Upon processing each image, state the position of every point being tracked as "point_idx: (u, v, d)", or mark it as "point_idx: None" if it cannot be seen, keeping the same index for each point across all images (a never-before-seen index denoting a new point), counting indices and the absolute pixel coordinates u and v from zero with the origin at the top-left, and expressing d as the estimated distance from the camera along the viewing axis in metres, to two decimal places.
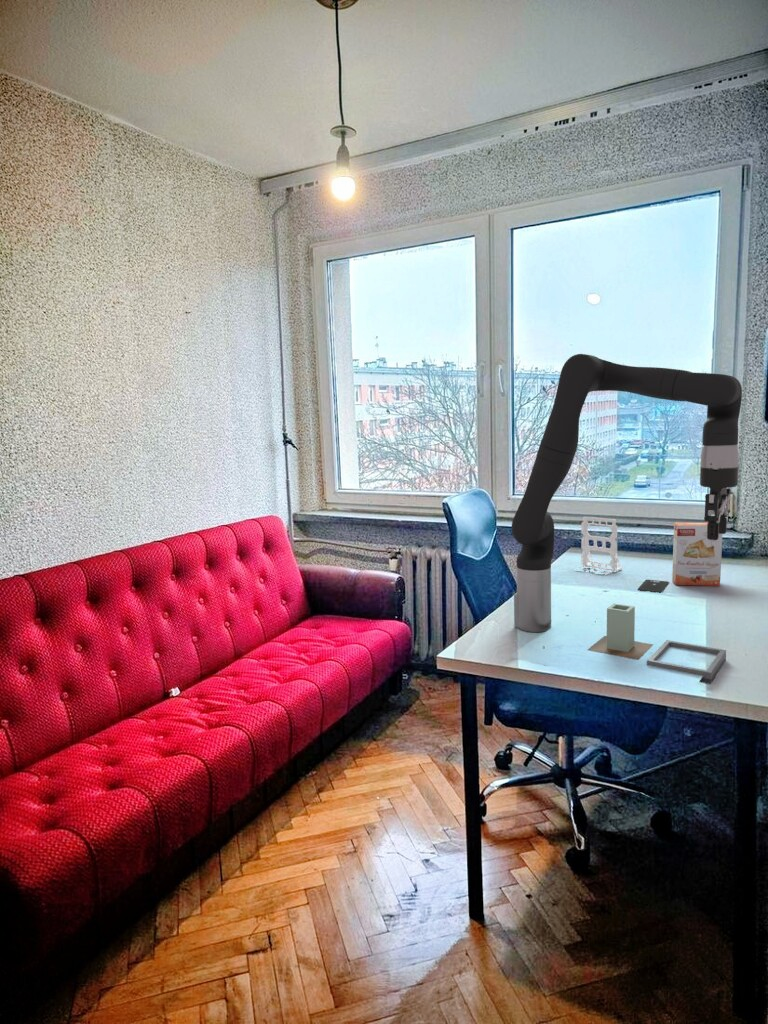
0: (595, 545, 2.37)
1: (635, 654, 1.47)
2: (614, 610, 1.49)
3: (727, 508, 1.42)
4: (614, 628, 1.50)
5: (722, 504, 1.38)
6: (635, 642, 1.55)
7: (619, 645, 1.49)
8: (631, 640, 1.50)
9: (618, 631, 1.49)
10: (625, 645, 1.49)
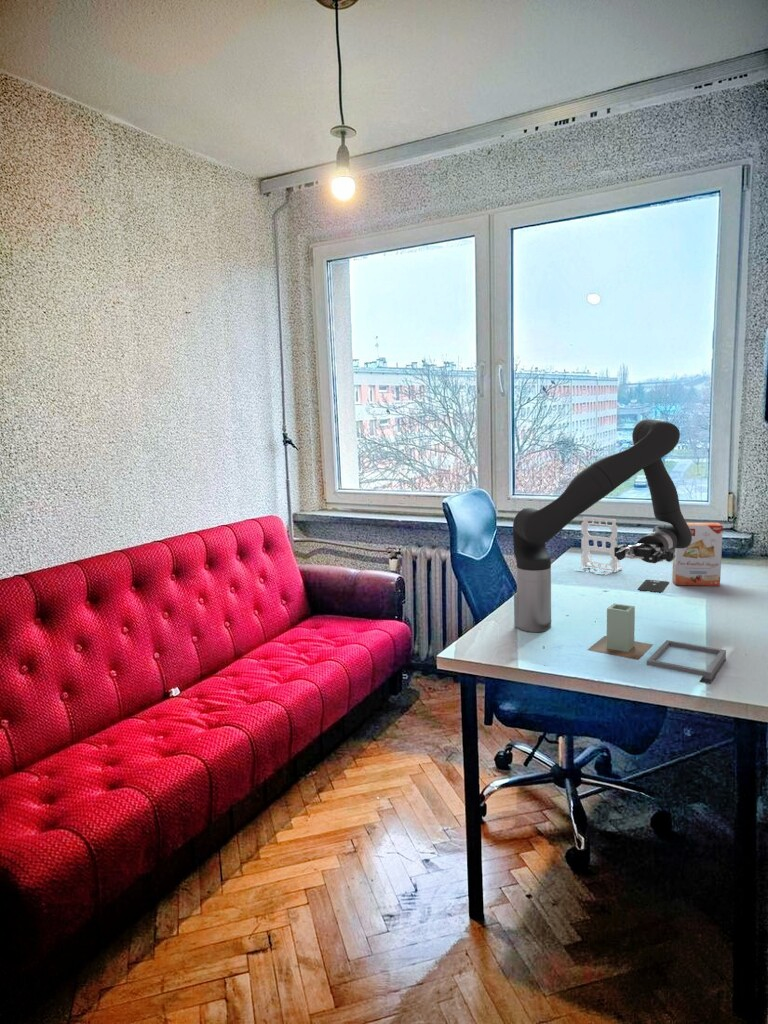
0: (595, 545, 2.37)
1: (635, 654, 1.47)
2: (614, 610, 1.49)
3: (633, 557, 1.64)
4: (614, 628, 1.50)
5: None
6: (635, 642, 1.55)
7: (619, 645, 1.49)
8: (631, 640, 1.50)
9: (618, 631, 1.49)
10: (625, 645, 1.49)
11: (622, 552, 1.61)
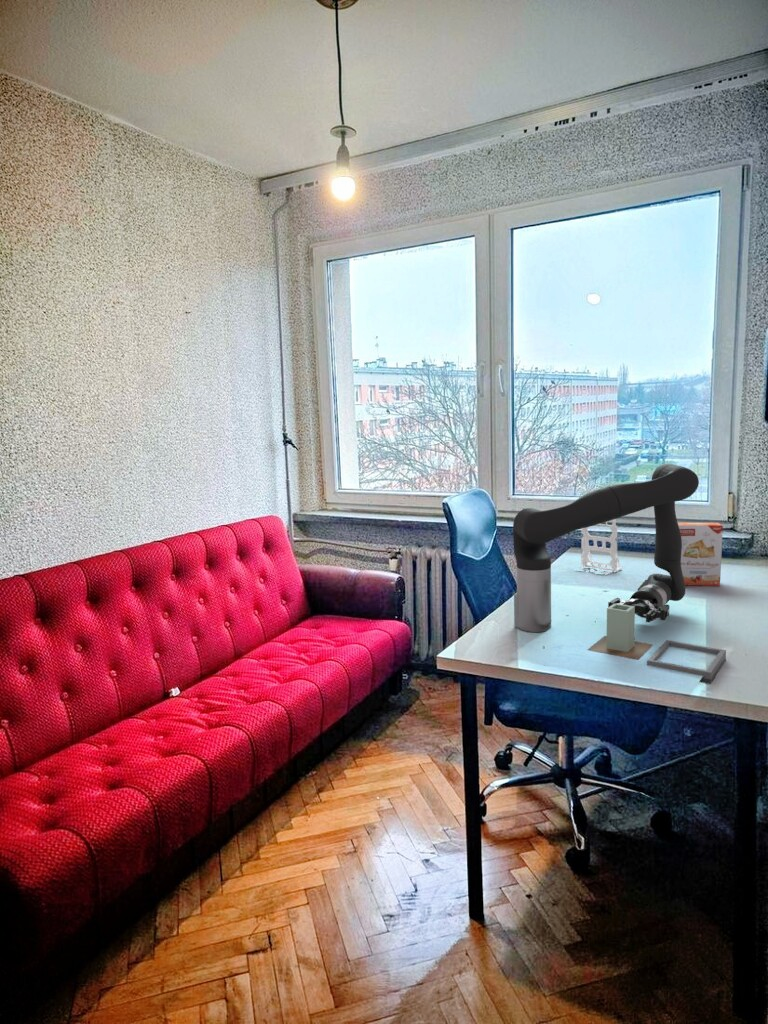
0: (595, 545, 2.37)
1: (635, 654, 1.47)
2: (614, 610, 1.49)
3: None
4: (614, 628, 1.50)
5: None
6: (635, 642, 1.55)
7: (619, 645, 1.49)
8: (631, 640, 1.50)
9: (618, 631, 1.49)
10: (625, 645, 1.49)
11: None
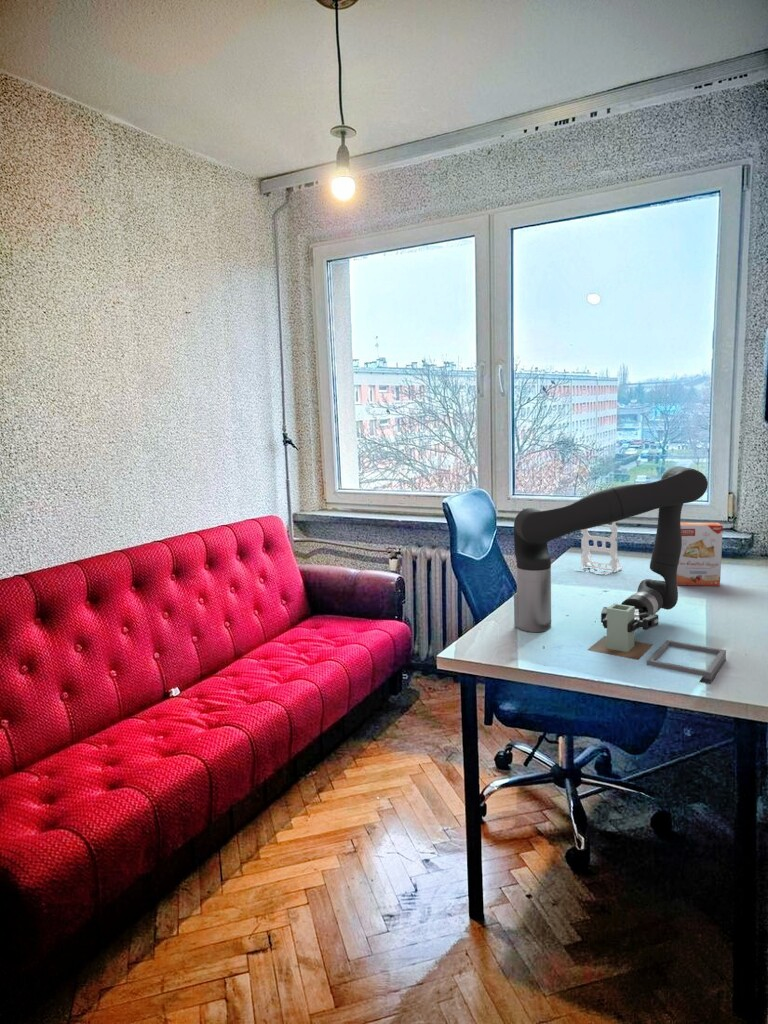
0: (595, 545, 2.37)
1: (635, 654, 1.47)
2: (614, 610, 1.49)
3: None
4: (614, 628, 1.50)
5: None
6: (635, 642, 1.55)
7: (619, 645, 1.49)
8: (631, 640, 1.50)
9: (618, 631, 1.49)
10: (625, 645, 1.49)
11: None
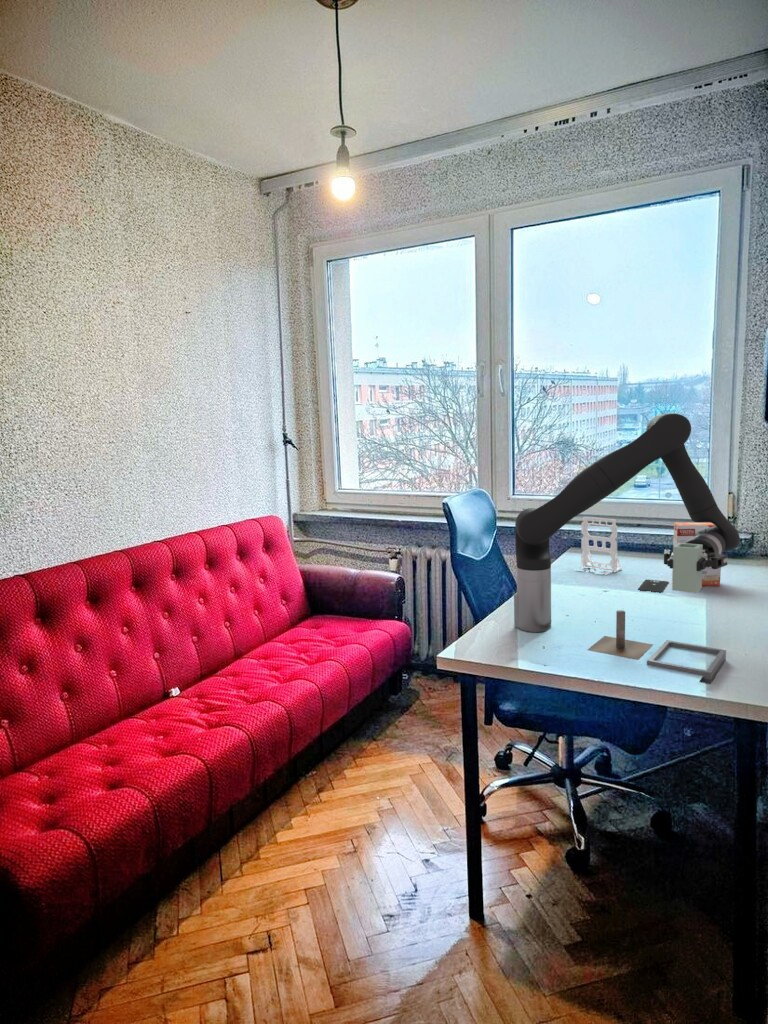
0: (595, 545, 2.37)
1: (635, 654, 1.47)
2: (681, 548, 1.38)
3: None
4: (681, 568, 1.39)
5: None
6: (635, 642, 1.55)
7: (687, 586, 1.38)
8: (699, 581, 1.39)
9: (686, 571, 1.38)
10: (693, 585, 1.37)
11: None
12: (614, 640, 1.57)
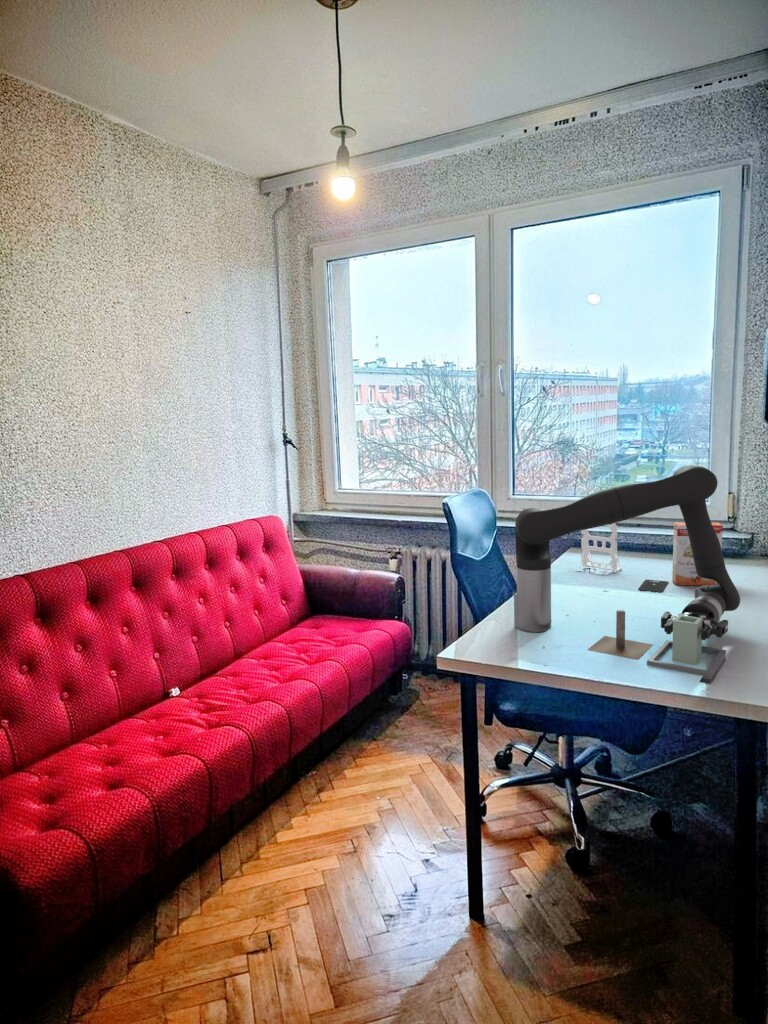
0: (595, 545, 2.37)
1: (635, 654, 1.47)
2: (681, 622, 1.40)
3: None
4: (681, 641, 1.40)
5: None
6: (635, 642, 1.55)
7: (686, 659, 1.40)
8: (699, 654, 1.41)
9: (685, 645, 1.40)
10: (693, 660, 1.39)
11: (671, 625, 1.43)
12: (614, 640, 1.57)
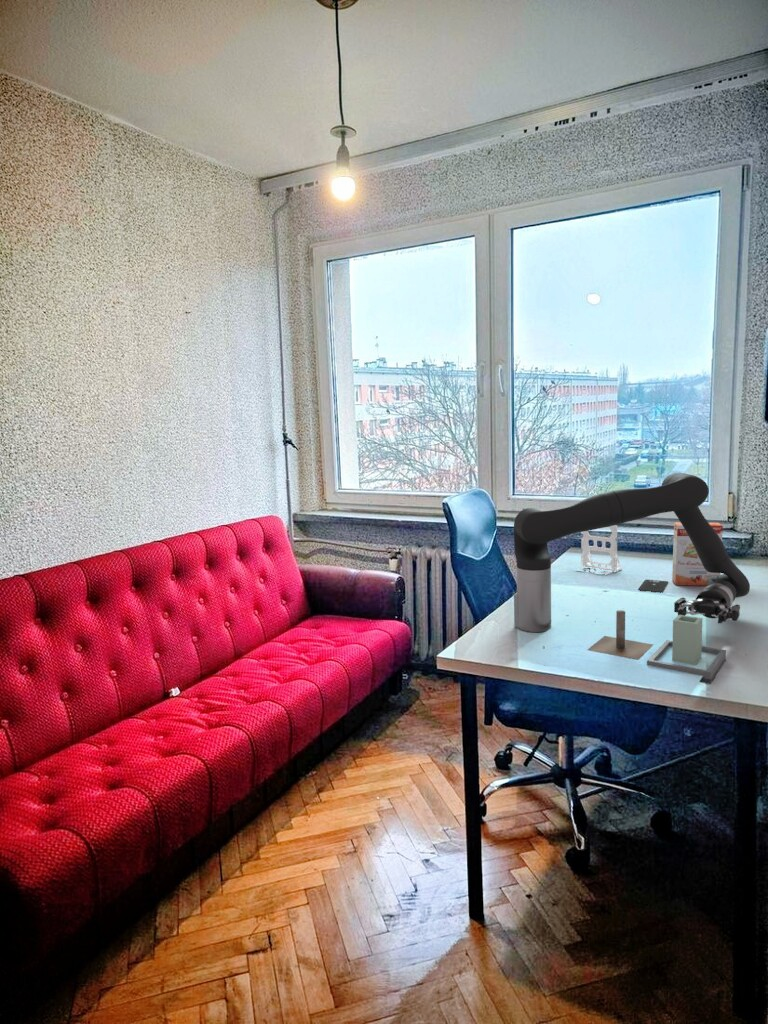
0: (595, 545, 2.37)
1: (635, 654, 1.47)
2: (681, 622, 1.40)
3: (694, 614, 1.57)
4: (681, 641, 1.40)
5: None
6: (635, 642, 1.55)
7: (686, 659, 1.40)
8: (699, 654, 1.41)
9: (685, 645, 1.40)
10: (693, 660, 1.39)
11: (684, 609, 1.54)
12: (614, 640, 1.57)
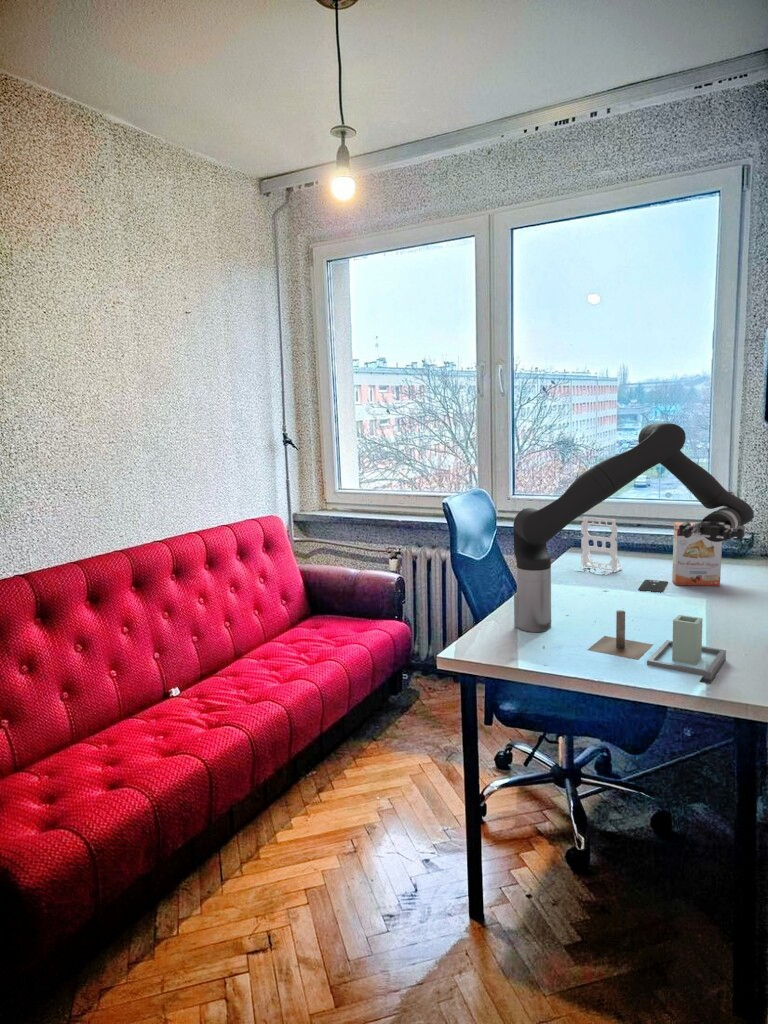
0: (595, 545, 2.37)
1: (635, 654, 1.47)
2: (681, 622, 1.40)
3: (699, 536, 1.57)
4: (681, 641, 1.40)
5: None
6: (635, 642, 1.55)
7: (686, 659, 1.40)
8: (699, 654, 1.41)
9: (685, 645, 1.40)
10: (693, 660, 1.39)
11: (689, 530, 1.54)
12: (614, 640, 1.57)
